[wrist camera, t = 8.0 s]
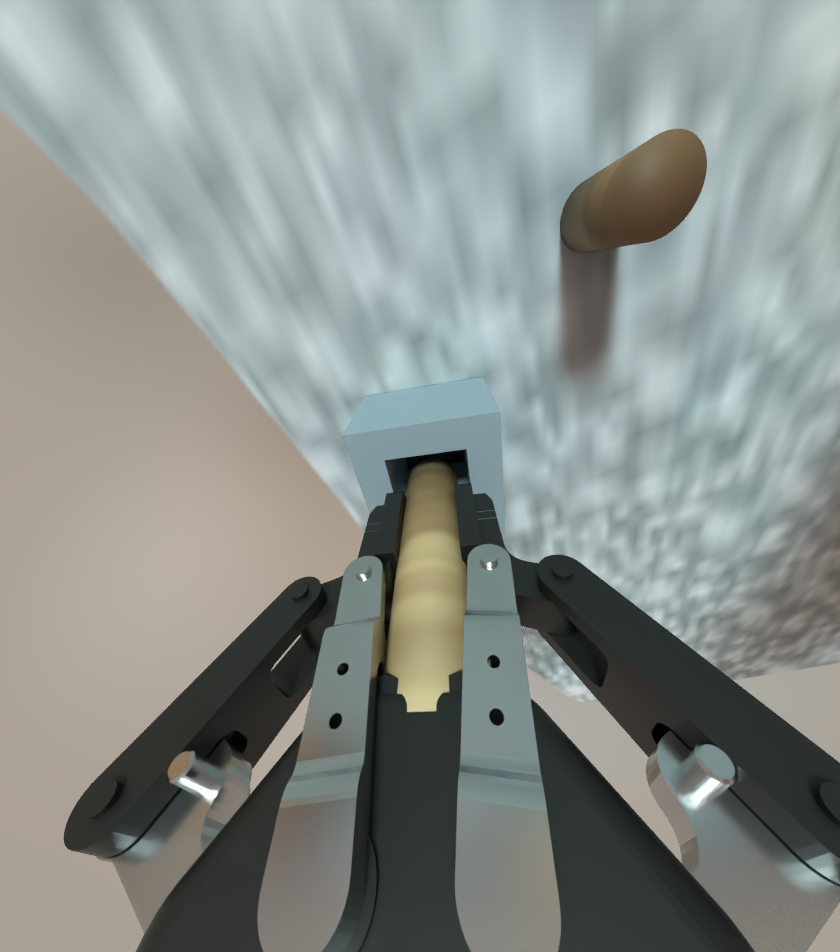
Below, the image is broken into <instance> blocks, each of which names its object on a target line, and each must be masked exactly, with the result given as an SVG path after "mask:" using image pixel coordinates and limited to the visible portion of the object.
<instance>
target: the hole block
mask: <svg viewBox="0 0 840 952" xmlns="http://www.w3.org/2000/svg"><path fill="white" fill-rule="evenodd" d="M343 438H344V441H345V444H346V447H347V450H348V452H349V455H350V458H351V461H352V464H353V467H354V470H355V473H356V475H357V478H358V481H359V484H360V487H361V490H362V493H363V496H364V498H365V501H366V504H367V507H368V510H369V513H371V512H372V511H373V509H374V508H375V507H376V506H380V505H384V502H385V498H386V494H387V493H392V492H400V491H404V492H405V495H406V493H407V485H408V478H409V473H410V470H411V469H408V465H407V460H406V457H412V456H420V455H427V454H434V453H441V452H449V451H456V450H463V449H464V457H465V462H458V463H451V465H452V466H453V468H454V469H455V471H456V473H457V479H458V484H465V483H471V485H472V490H473V494H481V493H486V494H487V495H488V496H489V497H490V498H491V499H492V500H493V504H494V508H495V512H496V515H497V519H498V523H499V527H500V531H501V533H504V532H505V523H504V498H503V472H502V447H501V422H500V410H499V408H498V406H497V404H496V402H495V400H494V398H493V396H492V394H491V392H490V390H489V388H488V386H487V384H486V382H485V379H484V377H478V378H472V379H466V380H460V381H454V382H448V383H442V384H436V385H430V386H424V387H418V388H412V389H406V390H400V391H394V392H388V393H382V394H376V395H370V396H365V398H364V399H363V401H362V403H361V405H360V406H359V408H358V410H357V411H356V413H355V415H354V417H353V418H352V420H351V422H350V424H349V425H348V427H347V429H346V430H345V432H344V434H343Z"/></svg>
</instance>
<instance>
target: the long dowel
mask: <svg viewBox="0 0 840 952" xmlns="http://www.w3.org/2000/svg"><path fill="white" fill-rule="evenodd" d="M457 484H458V479H457V473H456V471H455V469H454V468H453V466H452V465H451V464H449V463H448V462H446V461H444V460H442V459H437V458H428V459H424V460H422V461H419V462H418V463H416V464H415V465H414V466H413V467H412V469H411V470H410V473H409V478H408V485H407V493H406V504H405V512H404V520H403V527H402V535H401V543H400V551H399V559H398V566H397V570H396V578H395V585H394V593H393V601H392V609H391V616H390V624H389V632H388V639H387V650H386V661H385V668H384V671H383V675H388V676H392V677H396V678H399V679H398V690H397V694H402V695H403V696H404V697H405V700H406V702H407V712H425V711H436V705H437V701H438V699H439V697H440V695H441V694H442V693H444V692H449V675H451V674H454V673H457V672H463V638H464V614H465V612H466V609H467V566H466V564H465V563H464V561H463V560H462V556H461V550H460V541H459V531H458V520H457V510H456V499H455V489H454V485H457Z"/></svg>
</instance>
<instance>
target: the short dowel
mask: <svg viewBox="0 0 840 952" xmlns="http://www.w3.org/2000/svg"><path fill="white" fill-rule="evenodd" d="M706 168H707V159H706V152H705V149H704V146H703V144H702V142H701V140H700V139H699V138H698V137H697V136H696V135H695V134H694V133H692V132H690V131H688V130H684V129H672V130H668V131H665V132H662V133H660V134H658V135H656V136H654V137H653V138H651V139H650V140H648V141H647V142H645V143H643V144H642V145H640V146H639V147H637V148H636V149H634V150H632V151H631V152H629V153H628V154H626V155H625V156H623V157H621V158H620V159H618V160H617V161H615V162H614V163H612V164H610V165H609V166H607V167H606V168H604V169H603V170H601V171H600V172H598V173H596V174H595V175H593V176H592V177H590V178H589V179H587V180H585V181H584V182H582V183H581V184H580V185H579V186H577V188H576V189H575V190H574V191H573V192H572V193H571V195H570V196H569V198H568V199H567V201H566V203H565V206H564V208H563V211H562V215H561V221H560V230H561V235H562V238H563V241H564V242H565V244H566V245H567V246H568V247H569V248H570V249H572V250H573V251H576V252H590V251H596V250H603V249H609V248H615V247H621V246H627V245H634V244H640V243H646V242H651V241H654V240H657V239H659V238H661V237H663V236H665V235H667V234H668V233H669V232H671V231H672V230H673V229H675V228H676V227H677V226H678V225H679V224H680V223H681V222H682V221H683V220H684V219H685V217H686V216H687V215H688V214H689V212H690V211H691V209H692V208H693V206H694V204H695V203H696V201H697V199H698V197H699V195H700V192H701V190H702V187H703V184H704V180H705V175H706Z"/></svg>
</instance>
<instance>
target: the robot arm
mask: <svg viewBox="0 0 840 952" xmlns="http://www.w3.org/2000/svg"><path fill="white" fill-rule="evenodd" d="M454 489H455V499H456V510H457V520H458V531H459V541H460V550H461V556H462V560H463V561H464V563H465V564H466V566H467V609H466V612H465V614H464V638H463V672H457V673H454V674H451V675H449V692H444V693H442V694H441V695H440V697H439V699H438V701H437V705H436V711H425V712H407V702H406V700H405V697H404V696H403V695H402V694H397V690H398V679H399V678H396V677H392V676H388V675H383V671H384V668H385V661H386V650H387V639H388V632H389V624H390V616H391V609H392V601H393V593H394V585H395V578H396V570H397V566H398V559H399V551H400V543H401V535H402V527H403V520H404V512H405V504H406V495H405V492H404V491H400V492H392V493H387V494H386V498H385V502H384V505H380V506H376V507H375V508H374V509H373V511H372V512H371V513H370V515H369V518H368V522H367V526H366V529H365V533H364V537H363V541H362V544H361V548H360V552H359V556H358V559H356V560H354V561H353V562H351V563H350V564H349V565H348V566H347V568H346V570H345V572H344V575H343V576H341V577H339V578H337V579H334V580H332V581H329V582H326V583H323V584H321V583H320V582H319V580H318V579H317V578H315V577H304V578H301V579H298V580H297V581H295V582H293V583H292V584H290V585H289V586H288V587H287V588H286V589H285V590H284V591H283V592H282V593H281V594H280V595H279V596H278V597H277V598H276V599H275V600H274V601H273V602H272V603H271V604H270V605H269V606H268V607H267V608H266V609H265V610H264V611H263V612H262V613H261V614H260V615H259V616H258V617H257V618H256V619H255V620H254V621H253V622H252V623H251V624H250V625H249V626H248V627H247V628H246V630H244V631H243V632H242V633H241V634H240V635H239V636H238V637H237V638H236V639H235V641H233V642H232V643H231V644H230V645H229V646H228V647H227V648H226V649H225V650H224V651H223V652H222V653H221V654H220V655H219V656H218V657H217V658H216V659H215V660H214V661H213V662H212V663H211V664H210V666H208V667H207V668H206V670H204V672H202V673H201V674H200V675H199V677H198V678H196V679H195V680H194V681H193V683H192V684H190V685H189V686H188V688H186V689H185V690H184V691H183V692H182V694H181V695H179V697H177V698H176V699H175V701H173V703H171V705H170V706H169V707H168V708H167V709H166V710H165V711H164V712H163V713H162V714H161V715H160V716H159V717H158V718H157V719H156V720H155V721H154V722H153V723H152V724H151V725H150V726H149V727H148V728H147V729H146V730H145V731H144V732H143V733H142V734H141V735H140V736H139V737H138V738H137V739H136V740H135V741H134V742H133V743H132V744H131V745H130V746H129V747H128V748H127V749H126V750H125V751H124V752H123V753H122V754H121V755H120V756H119V757H118V758H117V759H116V760H115V761H114V762H113V763H112V764H111V765H110V766H109V767H108V768H107V769H106V770H105V771H104V772H103V773H102V774H101V775H100V776H99V777H98V778H97V779H96V780H95V781H94V782H93V783H92V784H91V785H90V786H89V788H88V789H87V790H86V791H85V793H84V794H83V795H82V796H81V798H80V799H79V801H78V802H77V804H76V805H75V807H74V809H73V811H72V813H71V815H70V817H69V819H68V822H67V824H66V828H65V832H64V843H65V846H66V847H67V848H68V849H69V850H72V851H76V852H80V853H85V854H89V855H94V856H96V857H97V858H98V859H100V860H103V861H107V862H112V863H114V866H115V868H116V870H117V872H118V875H119V877H120V879H121V882H122V884H123V886H124V888H125V891H126V893H127V895H128V897H129V900H130V902H131V904H132V906H133V909H134V911H135V913H136V916H137V918H138V920H139V922H140V925H141V927H142V929H143V932H144V936H143V938H142V940H141V942H140V944H139V946H138V948H137V950H136V952H806V951H807V950H808V948H809V947H810V945H811V944H812V942H813V941H814V939H815V938H816V936H817V935H818V933H819V932H820V930H821V929H822V927H823V925H824V924H825V923H826V922H827V920H828V919H829V917H830V916H831V914H832V913H833V911H834V909H835V908H836V907H837V905H838V904H839V902H840V763H839V762H838V761H837V760H835V759H834V758H833V757H831V756H830V755H828V754H827V753H826V752H825V751H824V750H822V749H821V748H820V747H818V746H817V745H816V744H814V743H813V742H812V741H811V740H809V739H808V738H807V737H805V736H804V735H803V734H801V733H800V732H799V731H798V730H796V729H795V728H794V727H792V726H791V725H790V724H789V723H787V722H786V721H785V720H783V719H782V718H781V717H779V716H778V715H777V714H776V713H774V712H773V711H772V710H770V709H769V708H768V707H766V706H765V705H764V704H763V703H761V702H760V701H759V700H757V699H756V698H755V697H753V696H752V695H751V694H750V693H748V692H747V691H746V690H744V689H743V688H742V687H740V686H739V685H738V684H737V683H735V682H734V681H733V680H731V679H730V678H729V677H728V676H726V675H725V674H724V673H722V672H721V671H720V670H718V669H717V668H716V667H715V666H713V665H712V664H711V663H709V662H708V661H707V660H705V659H704V658H703V657H702V656H700V655H699V654H698V653H696V652H695V651H694V650H693V649H691V648H690V647H689V646H687V645H686V644H685V643H683V642H682V641H681V640H680V639H678V638H677V637H676V636H674V635H673V634H672V633H670V632H669V631H668V630H667V629H665V628H664V627H663V626H661V625H660V624H659V623H657V622H656V621H655V620H654V619H652V618H651V617H650V616H648V615H647V614H646V613H645V612H643V611H642V610H641V609H639V608H638V607H637V606H635V605H634V604H633V603H632V602H630V601H629V600H628V599H626V598H625V597H624V596H622V595H621V594H620V593H619V592H617V591H616V590H615V589H613V588H612V587H611V586H609V585H608V584H607V583H606V582H604V581H603V580H602V579H600V578H599V577H598V576H597V575H595V574H594V573H593V572H591V571H590V570H589V569H587V568H586V567H585V566H584V565H582V564H581V563H580V562H578V561H577V560H575V559H573V558H571V557H568V556H564V555H551V556H547V557H545V558H544V559H542V560H541V561H540V563H533V562H527V561H523V560H520V559H518V558H515V557H514V556H512V555H511V554H510V553H509V552H508V551H507V550H506V548H505V546H504V542H503V538H502V535H501V531H500V527H499V523H498V519H497V515H496V512H495V508H494V504H493V500H492V499H491V498H490V497H489V496H488V495H487V494H486V493H481V494H473V490H472V485H471V483H465V484H457V485H454ZM521 626H525V627H529V628H533V629H537V630H538V632H539V633H540V634H541V636H542V637H543V638H544V639H545V640H546V641H547V642H548V644H549V645H550V646H551V647H552V648H553V649H554V650H555V652H556V653H557V654H558V655H559V656H560V657H561V658H562V659H563V661H564V662H565V663H566V664H567V665H568V666H569V667H570V669H571V670H572V671H573V672H574V673H575V674H576V675H577V676H578V678H579V679H580V680H581V681H582V682H583V683H584V684H585V686H586V687H587V688H588V689H589V690H590V691H591V692H592V693H593V695H594V696H595V697H596V698H597V699H598V700H599V701H600V702H601V704H602V705H603V706H604V707H605V708H606V709H607V710H608V712H609V713H610V714H611V715H612V716H613V717H614V718H615V719H616V721H617V722H618V723H619V724H620V725H621V726H622V727H623V729H624V730H625V731H626V732H627V733H628V734H629V735H630V736H631V738H632V739H633V740H634V741H635V742H636V743H637V744H638V745H639V747H640V748H641V749H642V750H643V751H644V752H645V754H647V756H648V757H649V759H648V761H647V765H646V775H647V781H648V784H649V787H650V790H651V792H652V795H653V796H654V798H655V800H656V802H657V803H658V805H659V806H660V808H661V809H662V811H663V812H664V813H665V815H666V816H667V818H668V820H669V822H670V823H671V825H672V827H673V829H674V832H675V834H676V836H677V839H678V842H679V846H680V851H681V856H682V863H681V862H680V861H679V860H678V859H677V858H676V857H675V856H674V855H673V853H672V852H671V851H670V850H669V849H668V848H667V847H666V846H665V845H664V843H663V842H662V841H661V840H660V839H659V838H658V837H657V836H656V834H655V833H654V832H653V831H652V830H651V829H650V828H649V827H648V826H647V824H646V823H645V822H644V821H643V820H642V819H641V818H640V817H639V816H638V815H637V813H636V812H635V811H634V810H633V809H632V808H631V807H630V806H629V805H628V803H627V802H626V801H625V800H624V799H623V798H622V797H621V796H620V794H619V793H618V792H617V791H616V790H615V789H614V788H613V787H612V786H611V785H610V783H609V782H608V781H607V780H606V779H605V778H604V777H603V776H602V774H601V773H600V772H599V771H598V770H597V769H596V768H595V767H594V766H593V764H592V763H591V762H590V761H589V760H588V759H587V758H586V757H585V756H584V754H582V752H581V751H580V750H579V749H578V748H577V747H576V746H575V744H573V742H572V741H571V740H570V739H569V738H568V737H567V736H566V734H565V733H564V732H563V731H562V730H561V729H560V728H559V727H558V726H557V724H556V723H555V722H554V721H553V720H552V719H551V718H550V717H549V716H548V714H547V713H546V712H545V711H544V710H543V709H542V708H541V707H540V706H539V705H538V704H537V703H536V702H534V701H533V700H532V699H531V698H530V691H529V684H528V676H527V669H526V661H525V654H524V646H523V639H522V631H521ZM299 635H301V637H300V638H299V639H298V640H297V642H296V643H295V644H294V645H293V646H292V648H291V649H290V650H289V651H288V652H287V654H286V655H285V656H284V657H283V658H282V659H281V661H280V662H279V663H278V664H277V665H276V667H275V668H274V669H273V670H272V671H271V669H272V667H273V666H274V664H275V663H276V662H277V661H278V659H279V658H280V657H281V656H282V655H283V653H284V652H285V651H286V650H287V649H288V648H289V646H290V645H291V644H292V643H293V642H294V640H295V639H296V638H297V637H298V636H299ZM311 687H312V691H311V695H310V701H309V705H308V710H307V714H306V719H305V724H304V729H303V731H302V733H301V734H300V735H299V736H298V737H297V738H296V740H295V741H294V742H293V743H292V745H291V746H290V747H289V748H288V749H287V751H286V752H285V753H284V754H283V755H282V757H281V758H280V759H279V760H278V762H277V763H276V764H275V765H274V766H273V768H272V769H271V770H270V771H269V773H268V774H267V775H266V776H265V777H264V779H263V780H262V781H261V782H260V783H259V785H258V786H257V787H256V788H255V790H254V791H253V792H252V793H251V794H250V786H249V785H250V781H251V775H252V769H253V768H254V766H255V765H256V763H257V762H258V760H259V759H260V758H261V757H262V755H263V753H264V752H265V751H266V750H267V748H268V747H269V745H270V744H271V743H272V741H273V740H274V738H275V737H276V736H277V734H278V733H279V732H280V730H281V729H282V728H283V726H284V725H285V723H286V722H287V721H288V719H289V718H290V716H291V715H292V714H293V712H294V711H295V710H296V708H297V707H298V705H299V704H300V702H301V701H302V700H303V698H304V697H305V696H306V694H307V693H308V692H309V690H310V689H311Z"/></svg>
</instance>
